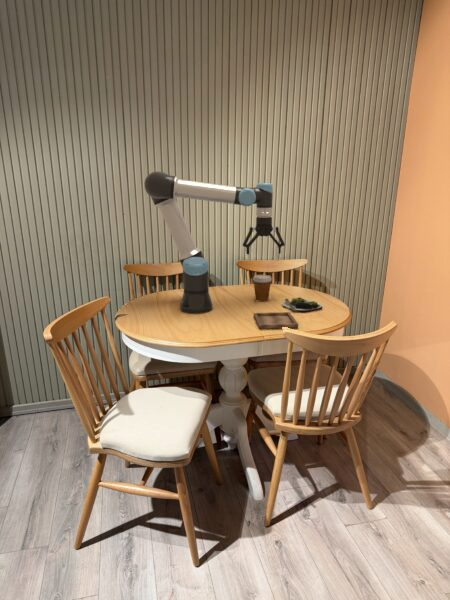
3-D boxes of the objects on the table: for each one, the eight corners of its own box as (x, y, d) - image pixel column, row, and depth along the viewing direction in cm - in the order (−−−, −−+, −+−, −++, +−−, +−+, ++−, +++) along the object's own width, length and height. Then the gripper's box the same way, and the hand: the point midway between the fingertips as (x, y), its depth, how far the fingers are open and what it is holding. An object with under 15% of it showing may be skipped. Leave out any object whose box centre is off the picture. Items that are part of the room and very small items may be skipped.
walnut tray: (259, 329, 168) (259, 325, 167) (253, 317, 183) (253, 312, 183) (298, 328, 169) (298, 324, 168) (289, 316, 184) (289, 312, 184)
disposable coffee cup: (272, 302, 205) (272, 278, 202) (252, 302, 205) (253, 278, 202) (270, 297, 214) (271, 274, 211) (251, 297, 214) (252, 274, 211)
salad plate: (271, 304, 203) (272, 295, 202) (300, 299, 211) (301, 290, 210) (297, 315, 187) (297, 305, 185) (327, 309, 195) (327, 300, 194)
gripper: (238, 217, 194) (238, 262, 200) (291, 216, 195) (290, 261, 201) (237, 216, 201) (237, 259, 207) (288, 215, 203) (286, 258, 208)
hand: (263, 260), depth 204 cm, fingers open, 13 cm apart
